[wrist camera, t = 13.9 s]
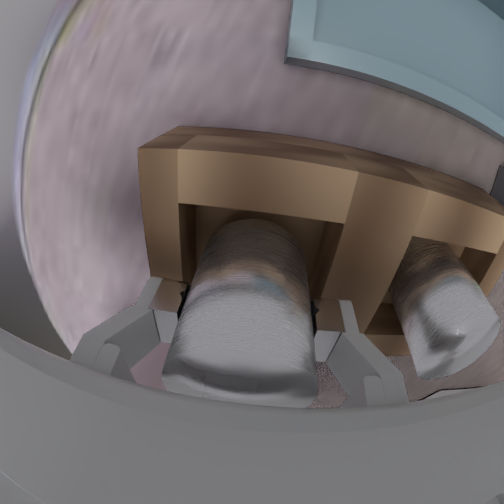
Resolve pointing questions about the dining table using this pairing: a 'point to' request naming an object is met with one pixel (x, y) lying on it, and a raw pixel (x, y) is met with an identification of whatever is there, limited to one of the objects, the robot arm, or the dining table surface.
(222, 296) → the billet
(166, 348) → the smoothie
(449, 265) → the billet seated
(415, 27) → the tray
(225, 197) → the brown wooden tray
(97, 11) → the dining table surface
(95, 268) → the dining table surface
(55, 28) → the dining table surface
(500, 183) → the button housing
